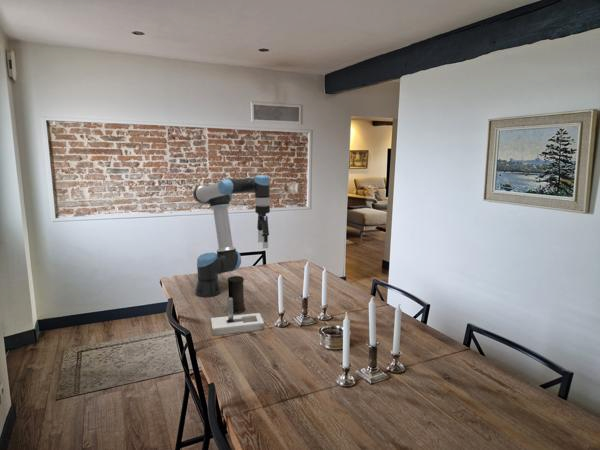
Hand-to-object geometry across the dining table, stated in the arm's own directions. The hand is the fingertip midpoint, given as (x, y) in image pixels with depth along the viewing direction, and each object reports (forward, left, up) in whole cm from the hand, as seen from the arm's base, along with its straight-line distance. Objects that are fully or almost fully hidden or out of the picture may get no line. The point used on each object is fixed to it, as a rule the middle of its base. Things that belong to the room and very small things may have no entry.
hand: (263, 245), depth 208 cm
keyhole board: (+21, -17, -35) cm, 44 cm away
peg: (+21, -20, -35) cm, 45 cm away
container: (+1, -15, -35) cm, 38 cm away
